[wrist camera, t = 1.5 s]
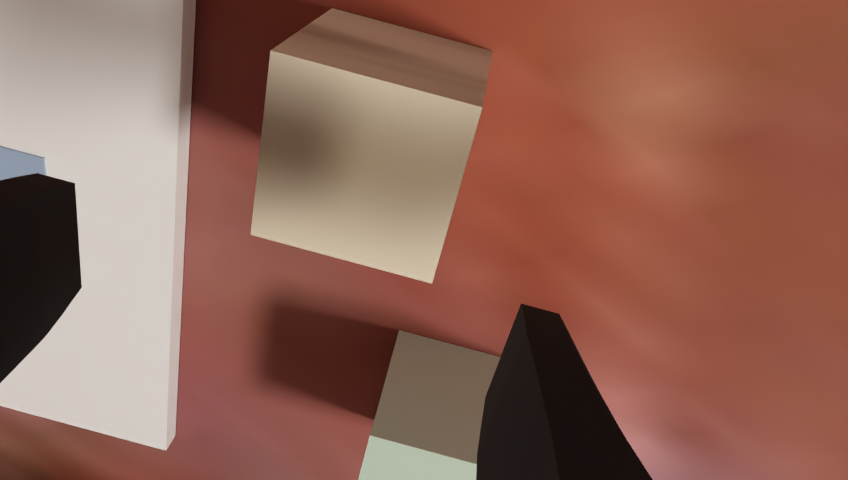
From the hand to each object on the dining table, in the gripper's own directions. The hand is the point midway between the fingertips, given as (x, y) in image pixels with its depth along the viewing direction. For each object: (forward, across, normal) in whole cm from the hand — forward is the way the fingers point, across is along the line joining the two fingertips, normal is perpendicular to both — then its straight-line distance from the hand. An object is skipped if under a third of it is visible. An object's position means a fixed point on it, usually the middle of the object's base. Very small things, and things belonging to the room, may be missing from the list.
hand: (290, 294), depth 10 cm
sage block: (+10, -4, +10) cm, 15 cm away
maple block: (+10, 0, 0) cm, 10 cm away
